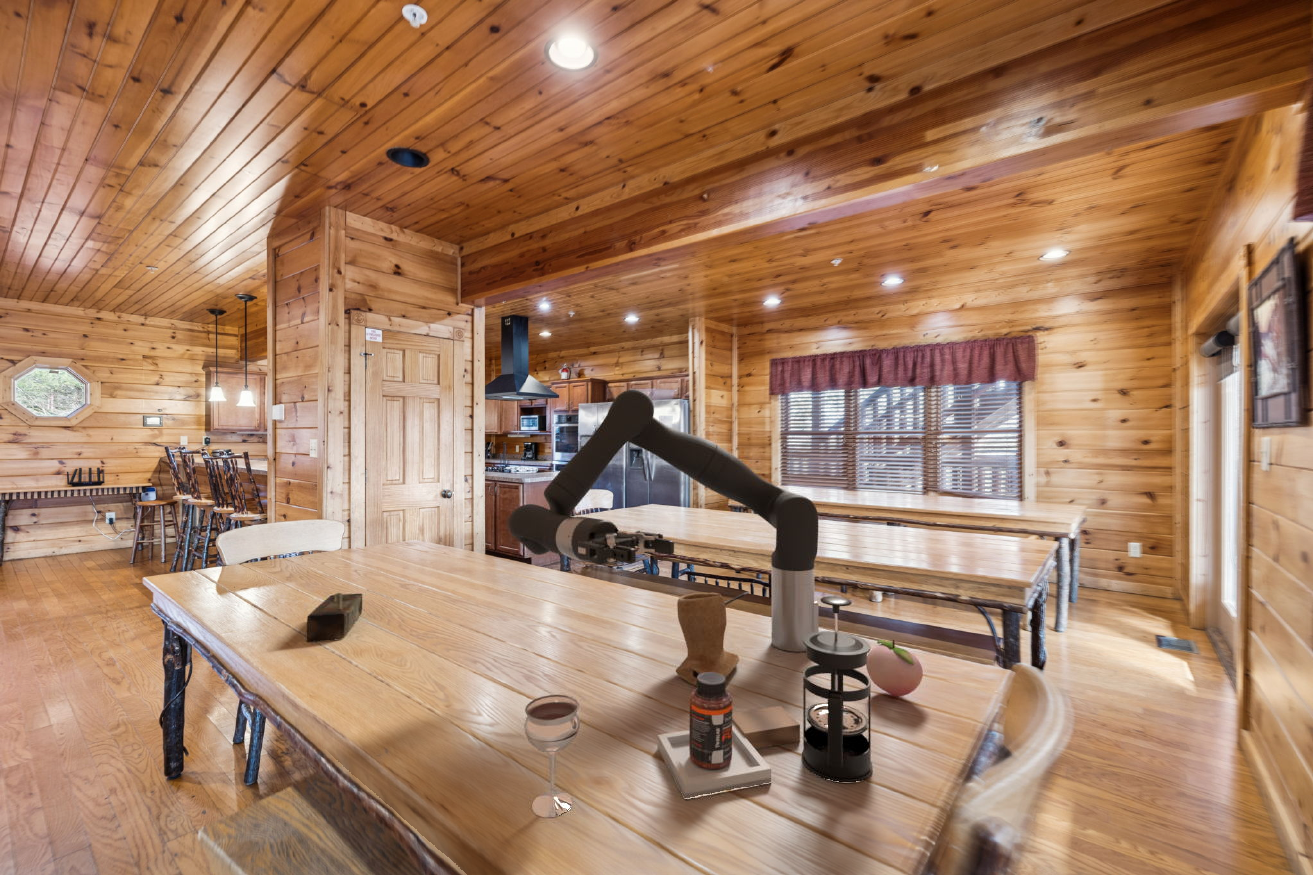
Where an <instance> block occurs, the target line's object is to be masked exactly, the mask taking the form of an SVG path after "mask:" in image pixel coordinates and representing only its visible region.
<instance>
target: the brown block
mask: <svg viewBox="0 0 1313 875" xmlns="http://www.w3.org/2000/svg"><path fill="white" fill-rule="evenodd" d="M732 723H734V724H735V725H736V727H737V728H738V729H739V730H740V732H741V733H742V734H743V735H744V736H745V738H746V739H747V740H748V741H749V742H750V744H751V745H752V746H753V747H754V748H755V750H756V748H758V749H762V748H761V747H764V748H767V747H766V746H769V747H773V746H772V745H775V746H780V744H781V745H785V744H793V743H798V742H801V724H800V723H799V722H798V721H797V720H796V719H795V718H794V717H793V716H792V715H791V714H790V713H788V712H787V711H786V709H784V708H783V707H782V706H781V705H779V706H777V705H776V706H770V707H765V708H764V707H763V708H758V709H751V710H743V711H738V712H736V711H735V712H732ZM792 742H793V743H792ZM770 745H771V746H770ZM759 747H760V748H759Z"/></svg>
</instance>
